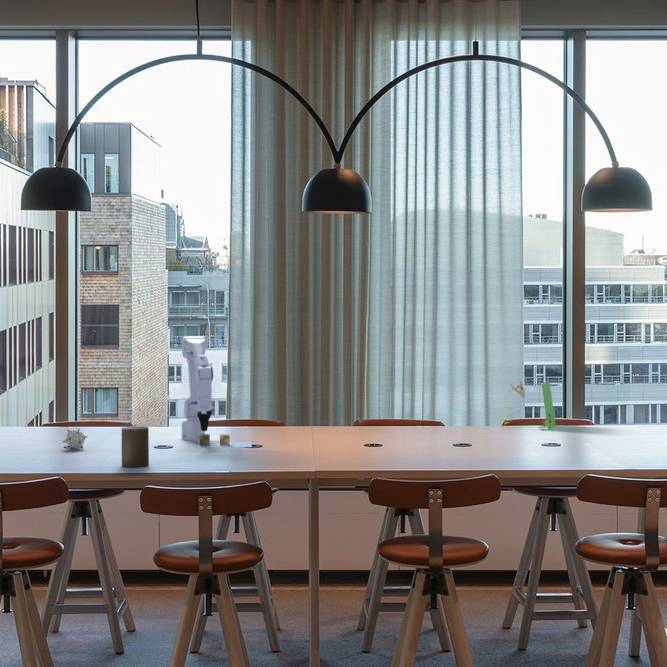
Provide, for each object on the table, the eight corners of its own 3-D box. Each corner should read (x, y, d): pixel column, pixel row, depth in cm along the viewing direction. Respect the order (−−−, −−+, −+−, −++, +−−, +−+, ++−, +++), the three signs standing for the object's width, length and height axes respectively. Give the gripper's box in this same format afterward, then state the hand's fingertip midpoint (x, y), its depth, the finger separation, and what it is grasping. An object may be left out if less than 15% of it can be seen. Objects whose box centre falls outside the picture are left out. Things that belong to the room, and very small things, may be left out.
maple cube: (219, 445, 431) (219, 435, 430) (220, 443, 435) (220, 433, 434) (229, 444, 431) (229, 435, 431) (229, 443, 435) (229, 433, 435)
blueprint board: (196, 448, 424) (196, 447, 424) (197, 443, 439) (197, 442, 439) (251, 448, 426) (251, 446, 426) (251, 443, 441) (251, 441, 441)
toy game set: (504, 430, 512) (498, 381, 513) (556, 425, 503) (549, 375, 504) (495, 436, 492) (488, 384, 492) (549, 430, 483) (542, 378, 483)
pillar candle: (149, 467, 380) (149, 425, 379) (121, 467, 378) (121, 425, 377) (148, 463, 389) (148, 422, 389) (121, 464, 387) (121, 422, 387)
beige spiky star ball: (70, 458, 422) (54, 439, 421) (81, 448, 430) (66, 429, 428) (84, 449, 418) (68, 429, 417) (95, 439, 425) (80, 419, 424)
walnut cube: (199, 445, 430) (199, 435, 430) (199, 444, 434) (199, 434, 434) (209, 445, 430) (209, 435, 430) (209, 444, 434) (209, 434, 434)
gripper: (214, 397, 424) (214, 431, 425) (214, 394, 439) (214, 427, 439) (196, 398, 424) (196, 432, 424) (197, 394, 438) (197, 427, 439)
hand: (204, 429), depth 432 cm, fingers open, 7 cm apart
